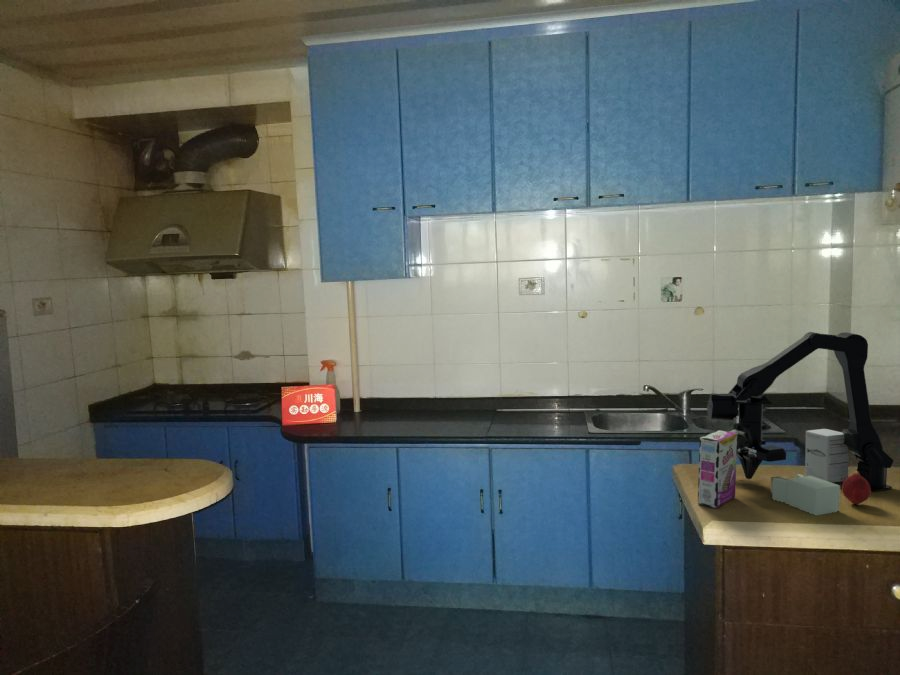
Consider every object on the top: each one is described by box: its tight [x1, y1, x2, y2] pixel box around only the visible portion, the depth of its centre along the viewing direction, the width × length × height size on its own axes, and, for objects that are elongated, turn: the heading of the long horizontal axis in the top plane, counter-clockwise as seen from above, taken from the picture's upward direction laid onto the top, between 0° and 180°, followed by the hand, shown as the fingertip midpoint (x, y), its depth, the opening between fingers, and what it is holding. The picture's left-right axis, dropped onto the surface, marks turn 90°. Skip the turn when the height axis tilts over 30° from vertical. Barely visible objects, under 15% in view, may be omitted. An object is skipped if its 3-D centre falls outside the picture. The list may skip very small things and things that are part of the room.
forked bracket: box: [771, 473, 841, 516], centre depth 152 cm, size 9×12×6 cm
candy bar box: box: [697, 429, 738, 509], centre depth 156 cm, size 11×5×16 cm, turn 134°
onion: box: [841, 470, 872, 505], centre depth 152 cm, size 6×6×8 cm
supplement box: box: [804, 428, 850, 484], centre depth 171 cm, size 7×7×13 cm
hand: (748, 478), depth 169 cm, fingers closed
